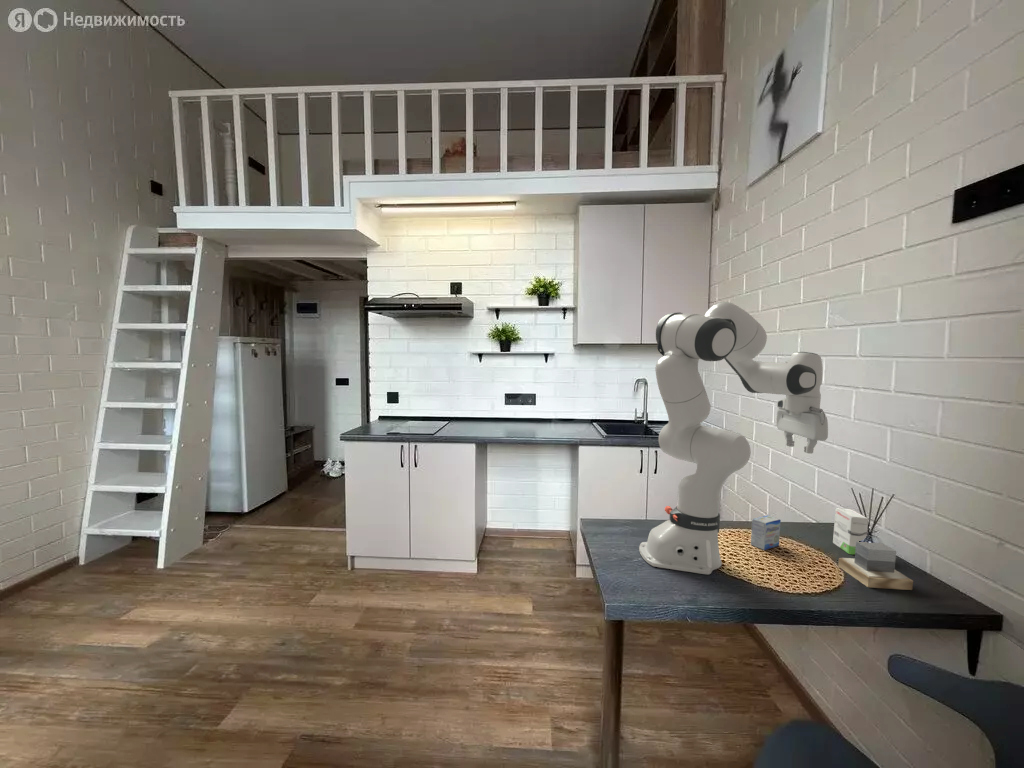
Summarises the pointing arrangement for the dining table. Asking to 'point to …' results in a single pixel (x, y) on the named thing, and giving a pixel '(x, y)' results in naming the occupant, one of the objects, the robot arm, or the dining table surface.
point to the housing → (875, 557)
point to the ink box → (849, 529)
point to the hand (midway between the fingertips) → (798, 449)
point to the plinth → (875, 576)
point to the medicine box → (765, 532)
